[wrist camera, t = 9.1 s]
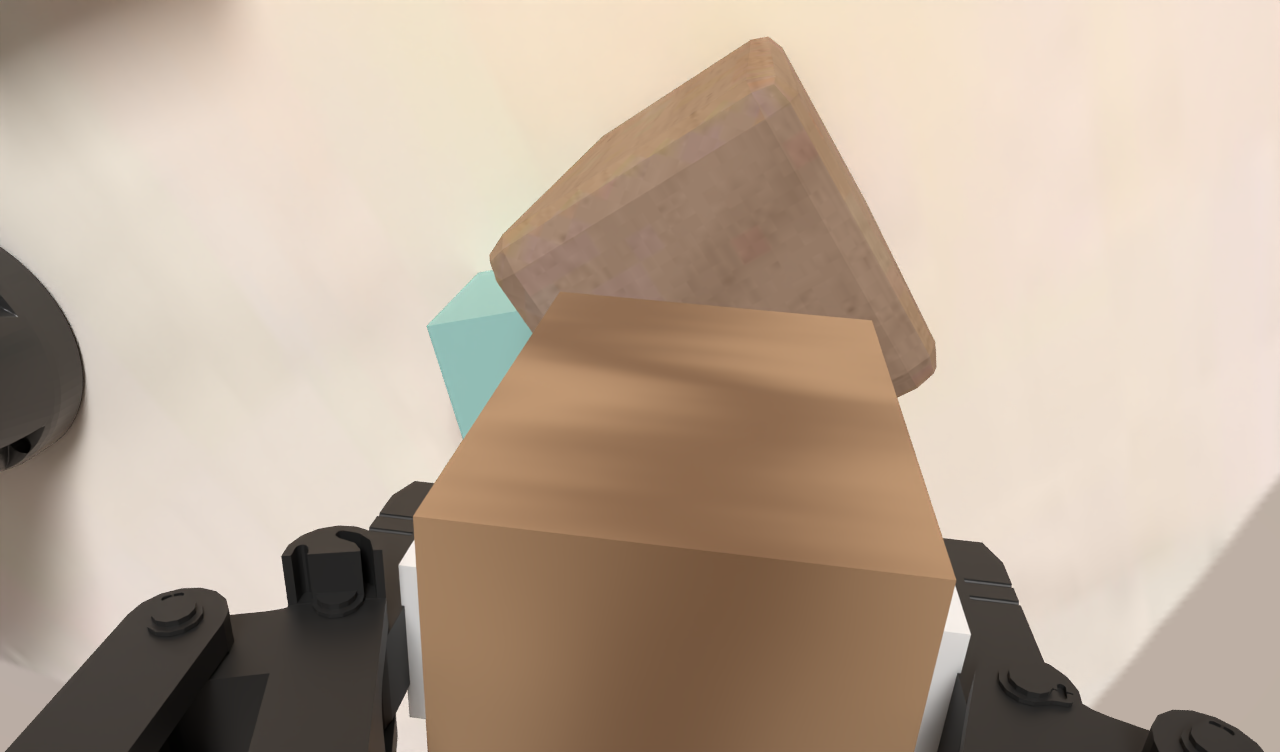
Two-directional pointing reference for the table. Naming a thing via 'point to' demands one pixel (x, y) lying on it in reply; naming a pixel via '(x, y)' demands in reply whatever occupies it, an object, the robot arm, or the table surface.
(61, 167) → the table surface
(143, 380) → the table surface
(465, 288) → the teal block
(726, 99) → the block
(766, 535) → the walnut block
